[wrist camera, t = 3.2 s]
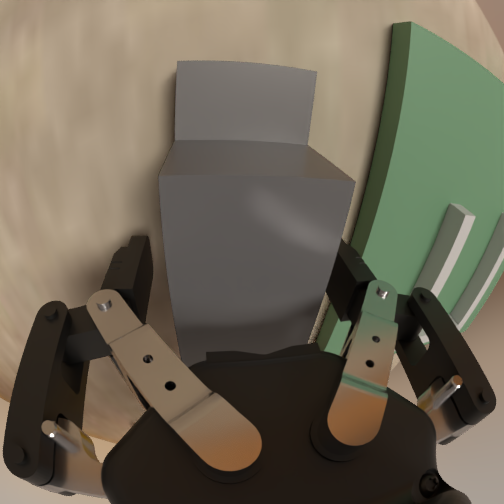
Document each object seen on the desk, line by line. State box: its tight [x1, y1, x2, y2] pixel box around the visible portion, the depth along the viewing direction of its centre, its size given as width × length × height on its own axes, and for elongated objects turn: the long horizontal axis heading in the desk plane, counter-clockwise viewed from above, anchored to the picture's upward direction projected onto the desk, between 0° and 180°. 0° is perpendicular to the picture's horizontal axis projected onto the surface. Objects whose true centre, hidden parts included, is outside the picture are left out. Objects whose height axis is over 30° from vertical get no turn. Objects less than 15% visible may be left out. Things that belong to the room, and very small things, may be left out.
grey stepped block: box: [158, 61, 356, 367], centre depth 11 cm, size 13×5×6 cm, turn 175°
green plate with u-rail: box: [316, 22, 504, 355], centre depth 16 cm, size 20×24×3 cm
